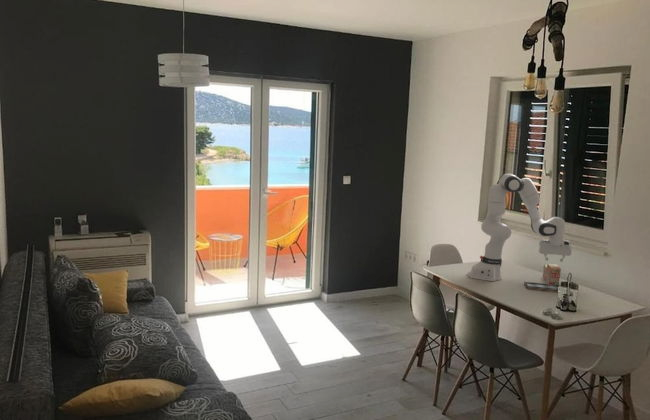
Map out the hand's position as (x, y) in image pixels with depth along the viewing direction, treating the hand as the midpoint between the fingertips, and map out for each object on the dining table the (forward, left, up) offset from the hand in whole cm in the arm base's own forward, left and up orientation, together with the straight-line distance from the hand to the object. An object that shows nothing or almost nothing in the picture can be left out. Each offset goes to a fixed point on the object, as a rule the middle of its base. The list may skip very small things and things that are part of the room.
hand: (553, 260), depth 366 cm
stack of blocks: (0, 0, -15) cm, 15 cm away
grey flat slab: (-7, -19, -15) cm, 25 cm away
